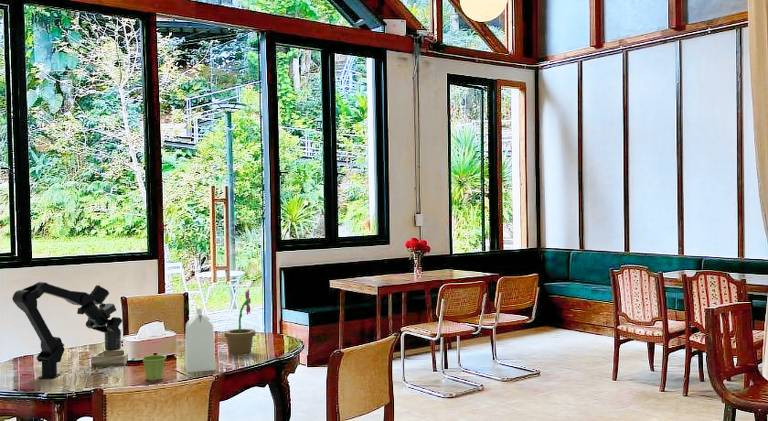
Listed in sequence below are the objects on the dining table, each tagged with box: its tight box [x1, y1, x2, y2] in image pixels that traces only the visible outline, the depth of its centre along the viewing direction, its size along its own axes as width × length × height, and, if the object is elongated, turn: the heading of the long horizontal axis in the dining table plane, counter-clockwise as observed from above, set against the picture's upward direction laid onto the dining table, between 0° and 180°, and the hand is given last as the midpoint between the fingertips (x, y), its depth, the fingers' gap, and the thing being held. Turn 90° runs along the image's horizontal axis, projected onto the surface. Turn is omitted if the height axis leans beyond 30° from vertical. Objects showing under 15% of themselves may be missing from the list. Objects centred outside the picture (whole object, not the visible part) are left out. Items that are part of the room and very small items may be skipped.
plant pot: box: [141, 354, 167, 382], centre depth 292 cm, size 9×9×9 cm
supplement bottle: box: [104, 328, 122, 351], centre depth 324 cm, size 7×7×12 cm
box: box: [90, 349, 128, 367], centre depth 324 cm, size 14×14×4 cm
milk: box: [184, 306, 216, 373], centre depth 310 cm, size 12×12×26 cm
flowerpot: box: [224, 289, 256, 356], centre depth 340 cm, size 14×14×30 cm
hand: (115, 334), depth 325 cm, fingers closed on supplement bottle, 7 cm apart
